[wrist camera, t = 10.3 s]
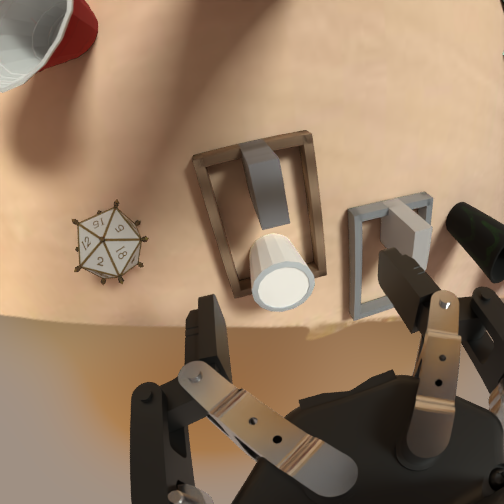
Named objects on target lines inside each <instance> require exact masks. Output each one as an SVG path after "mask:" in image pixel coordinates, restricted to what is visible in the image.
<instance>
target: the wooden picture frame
mask: <svg viewBox="0 0 504 504" xmlns="http://www.w3.org/2000/svg"><path fill="white" fill-rule="evenodd" d="M295 146H299V148H300V154H301V161H302V168H303V174H304V182H305V189H306V196H307V204H308V212H309V220H310V228H311V237H312V246H313V256H314V262H312V263H308V264H307V266H308V267H309V269H310V270H311V272H312V273H313V275H314V278H317V277H321V276H325V275H327V271H326V257H325V244H324V232H323V221H322V211H321V202H320V192H319V184H318V175H317V167H316V160H315V152H314V145H313V138H312V133H310V132H308V131H306V130H304V131H298V132H293V133H288V134H282V135H277V136H272V137H268V138H263V139H258V140H254V141H249V142H245V143H240V144H236V145H232V146H228V147H224V148H220V149H216V150H212V151H208V152H204V153H201V154H197V155H193V160H192V161H193V164H194V168H195V171H196V174H197V178H198V181H199V185H200V188H201V191H202V195H203V198H204V202H205V205H206V208H207V212H208V215H209V218H210V221H211V225H212V228H213V231H214V235H215V238H216V241H217V244H218V247H219V251H220V254H221V257H222V260H223V263H224V267H225V270H226V273H227V276H228V279H229V282H230V285H231V288H232V292H233V295H234V298H239V297H243V296H247V295H251V294H252V287H251V278H249V279H245V280H241V281H239V279H238V276H237V272H236V269H235V265H234V262H233V259H232V255H231V252H230V248H229V245H228V241H227V238H226V234H225V231H224V227H223V224H222V220H221V217H220V213H219V210H218V206H217V203H216V199H215V196H214V192H213V188H212V185H211V181H210V178H209V174H208V170H207V166H211V165H215V164H219V163H223V162H227V161H231V160H235V159H239V158H242V162H243V166H244V171H245V175H246V179H247V184H248V188H249V193H250V197H251V199H252V202H253V205H254V208H255V211H256V214H257V216H258V219H259V222H260V225H261V228H262V230H265V229H269V228H273V227H277V226H281V225H285V224H289V223H290V219H289V213H288V207H287V201H286V195H285V189H284V183H283V177H282V172H281V166H280V160H279V157H278V156H277V155H276V154H275V153H274V152H273V151H275V150H280V149H285V148H290V147H295Z"/></svg>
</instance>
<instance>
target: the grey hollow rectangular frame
mask: <svg viewBox="0 0 504 504" xmlns="http://www.w3.org/2000/svg"><path fill="white" fill-rule="evenodd" d="M432 206H433V197H431V196H430V195H429V194H427V193H426V192H421V193H417V194H412V195H407V196H403V197H398V198H394V199H389V200H385V201H380V202H376V203H371V204H367V205H363V206H358V207H354V208H350V209H348V226H349V264H350V295H349V313H350V315H351V316H352V318H353V320H354V321H355V320H358V319H361V318H364V317H367V316H370V315H373V314H376V313H379V312H382V311H385V310H388V309H391V308H394V306H393V304H392V303H391V301H390V300H389V299H388V297H387V296H385V297H382V298H378V299H375V300H372V301H369V302H366V303H363V304H361V284H362V222H363V221H367V220H371V219H375V218H379V217H381V233H380V241H381V242H382V244H383V245H384V246H385V247H386V248H387V249H389V248H392V247H395V248H396V249H397V250H398V251H399V252H400V253H401V254H402V255H405V254H406V255H408V256H410V257H411V258H413V259H415V260H416V262H417V263H418V264H419V265H420V267H422V268H423V269H424V271H425V270H426V268H427V262H428V256H429V250H430V243H431V236H432V228H433V227H432V226H431V216H432ZM416 208H418V214H416V213H415V212H414V211H413V210H412V209H416Z"/></svg>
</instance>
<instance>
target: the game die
mask: <svg viewBox="0 0 504 504" xmlns="http://www.w3.org/2000/svg"><path fill="white" fill-rule="evenodd" d="M118 204H119V202H118V199H117V200H116V201H115V202H114V207H113V208H111V209H109V210H106V211H104V212H102V213H101V211H99V210H98V212H97V215H95V216H93V217H90V218H88V219H86V220H84V221H81V222H78V220H76V219H72V222H73V224H75V225H77V226H78V247H76V249H75V250H76V251H77V252H78V251H79V266H77V267H75V270H74V272H79V270H80V269H81V268H83V269H85V270H87V271H89V272H91V273H93V274H95V275H97V276H99V277H101V278H102V280H101V283H102V284H103V285H104V284H105V281H106V280H105V279H106V278H117V277H118V281H119V283H121V284H123V281H124V280H123V278H122V277H121V276H122V275H124V274H125V273H126V272H128V271H129V270H130V269H132V268H133V267H134V266H136V265H138V266H139V267H140V268H141V267H144V266H143V263H141V262H139V255H140V249H141V242H142V241H143V242H147V240H148V239H149V238H147V237H146V236H145V237H142V238H141V236H140V234H139V231H138V229H137V227H136V225H139V224H140V221H138V220H137V221H135V223H134V222H132V221H131V220H130V219H129V218H128V217H127V216H126V215H125V214H123V213H122V212H121V211H120V210H119V209H118V208H117V207H118V206H119V205H118Z"/></svg>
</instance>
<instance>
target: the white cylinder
mask: <svg viewBox="0 0 504 504" xmlns="http://www.w3.org/2000/svg"><path fill="white" fill-rule="evenodd" d="M249 260H250V274H251V287H252V294H253V298H254V301H255V302H256V303H257V304H258V305H259V306H260V307H261V308H264V309H266V310H269V311H279V312H283V311H286V310H290V309H294V308H296V307H297V306H299V305H301V304H302V303H304V302H305V301H306V300H307V298H308V297H309V296H310V295H311V294H312V291H313V288H314V286H315V281H314V275H313V273H312V272H311V270H310V269H309V267H308V266H307V264H306V263H305V261H304V260H303V259H302V257H301V256H300V254H299V253H298V251H297V250H296V248H295V247H294V245H293V244H292V243H291V241H290V240H289V238H287V237H285V236H283V235H282V234H274V233H272V234H268V235H264V236H262V237H260V238H259V239H257V240H256V241H255V242H254V244H253V245H252V247H251V249H250V253H249Z"/></svg>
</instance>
